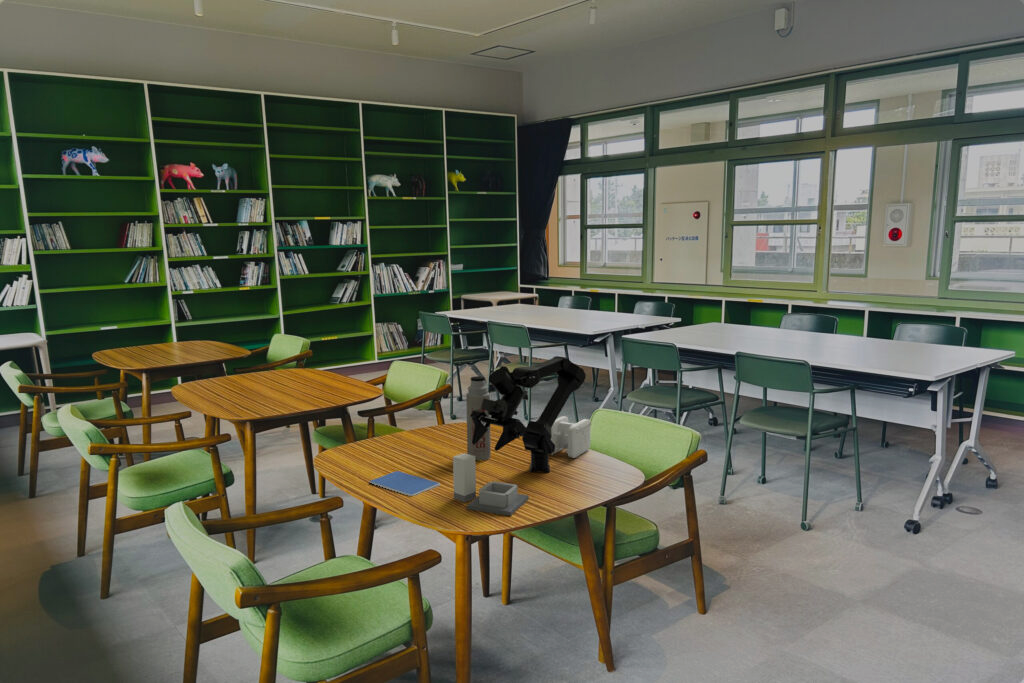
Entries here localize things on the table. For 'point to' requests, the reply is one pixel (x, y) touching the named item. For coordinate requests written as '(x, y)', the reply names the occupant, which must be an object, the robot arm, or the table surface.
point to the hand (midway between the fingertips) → (484, 446)
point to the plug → (464, 477)
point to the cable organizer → (571, 436)
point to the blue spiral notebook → (405, 483)
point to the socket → (498, 499)
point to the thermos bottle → (473, 402)
